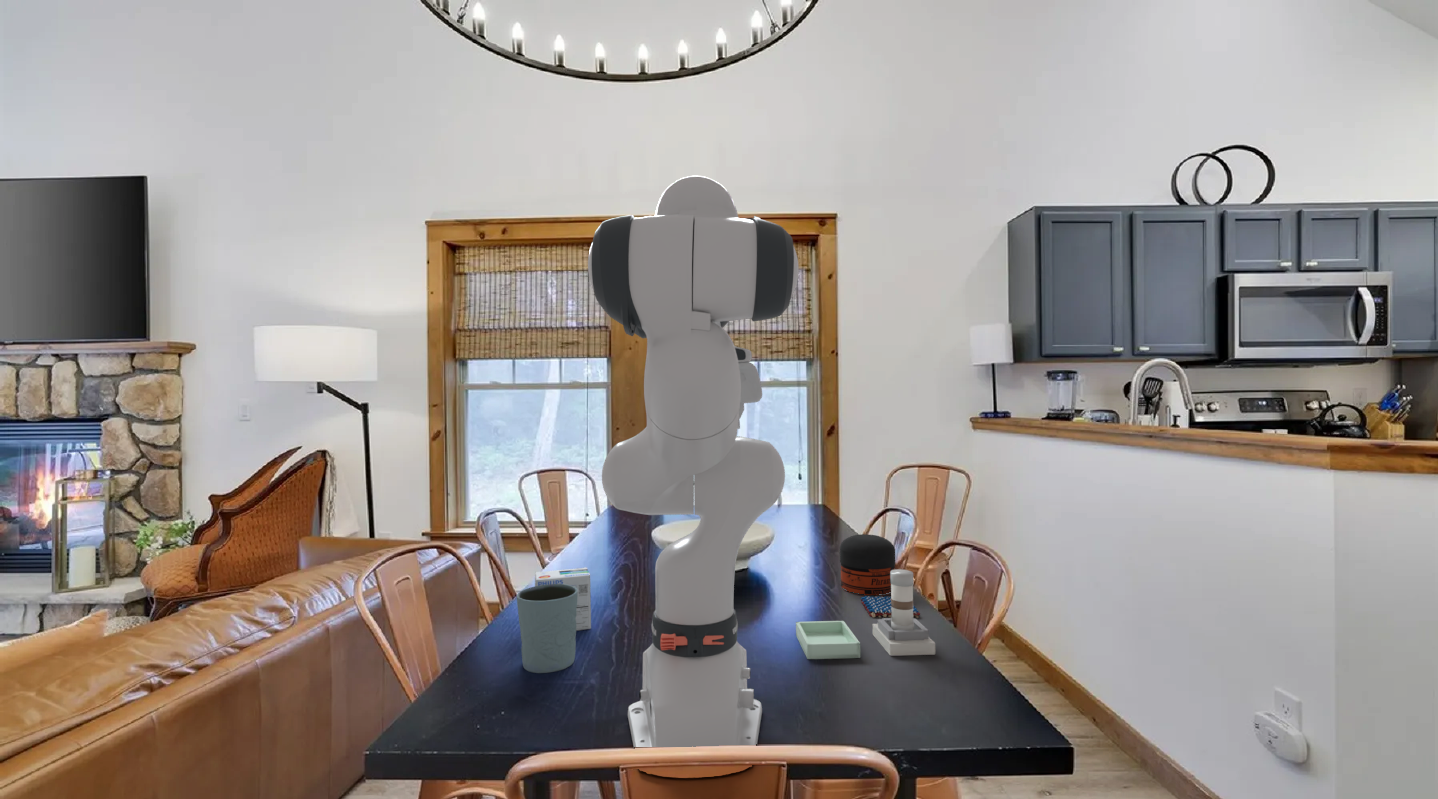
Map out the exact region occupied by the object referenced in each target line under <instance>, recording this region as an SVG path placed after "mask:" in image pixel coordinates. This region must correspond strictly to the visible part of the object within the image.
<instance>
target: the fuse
mask: <svg viewBox="0 0 1438 799" xmlns="http://www.w3.org/2000/svg"><path fill="white" fill-rule="evenodd" d="M890 580H891V594H890V595H891V596H890V597H891V616H892V617H891V618H892V620H891V628H892V629H893V630H914V622H913V618H914V617H913V606H914V572H913V571H911V570H908V569H901V568H899V569H897V568H896V569H895V570H891V571H890Z"/></svg>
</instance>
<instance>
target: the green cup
mask: <svg viewBox="0 0 1438 799" xmlns="http://www.w3.org/2000/svg"><path fill="white" fill-rule="evenodd" d="M577 598H578V589H577V588H576V587H574V586H571V585H567V584H548V585H540V586H535V585H534V586H532V587H529V588H526V589H522V590H521V591H519V592H518V593H517V594H516V605H517V613H518V624H519V631H520V632H519V633H520V640H521V649H520V650H521V657H522V658H521V660H522V666H523V668H524V670H526V671H528V672H530V673H534V674H535V673H536V674H549V673H553V672H559V671H563V670H565V669H567V668H568V667H570V666H572V665H573V664H574V662H575V658H576V646H577V642H576V641H577V640H576V637H577V636H576V635H577V630H576V616H577V613H576V608H577Z"/></svg>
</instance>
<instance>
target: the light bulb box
mask: <svg viewBox="0 0 1438 799" xmlns="http://www.w3.org/2000/svg"><path fill="white" fill-rule="evenodd" d="M548 584H567V585H571V586H574V587H576V588H577V589H578V598H577V608H576V613H577V616H576V631H583V630H591V629H592V608H591V605H592V604H591V602H592V600H591V598H592V597H591V573H590V571H589V570H588V567H577V568H570V569H569V568H567V569H559V570H558V569H557V570H547V571H535V573H534V587H535V586H540V585H548Z"/></svg>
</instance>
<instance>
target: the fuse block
mask: <svg viewBox="0 0 1438 799" xmlns="http://www.w3.org/2000/svg"><path fill="white" fill-rule="evenodd" d="M891 620H892V617H886V618H885V617H883V618H882V617H881V618H879V619H878V618H877V623H872V635H873V637H874V638H875V639H876V640H877V642H878V643H879V644H880V646H881V647H882V648H883V650H885V652H887V654H888V655H889V656H892V657H893V656H923V655H924V656H926V655H927V656H928V655H932V656H933V655H936V642H935V641H934V640H933V639H931V637H930V635H929V632H930V631H929V629H928V628H927V627H926V626H924V625H923V624H922V623H921V622H920V621H919V620H918V618H917V617H915V618H914V617H913V622H914V630H893V629H892V628H891Z"/></svg>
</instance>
